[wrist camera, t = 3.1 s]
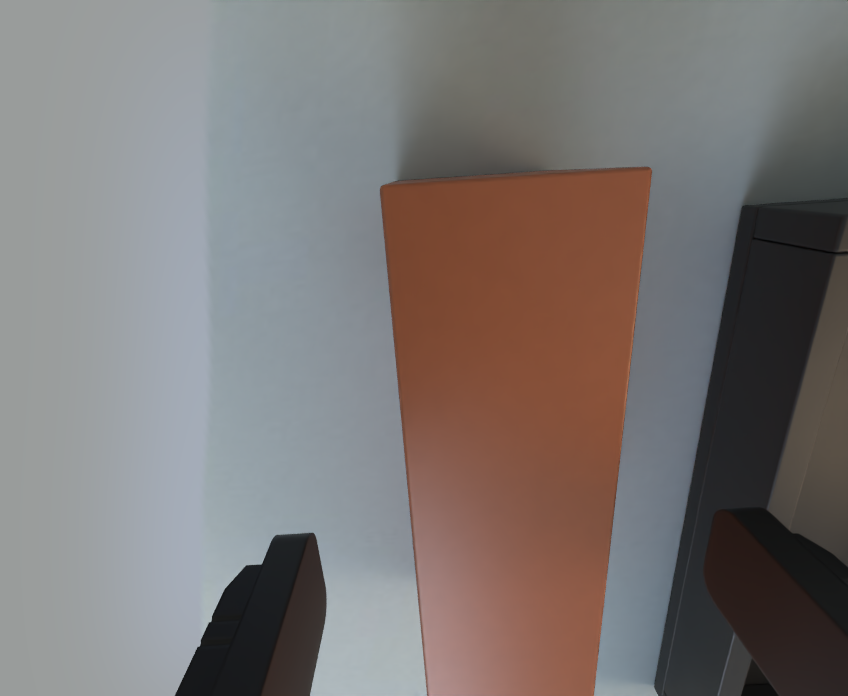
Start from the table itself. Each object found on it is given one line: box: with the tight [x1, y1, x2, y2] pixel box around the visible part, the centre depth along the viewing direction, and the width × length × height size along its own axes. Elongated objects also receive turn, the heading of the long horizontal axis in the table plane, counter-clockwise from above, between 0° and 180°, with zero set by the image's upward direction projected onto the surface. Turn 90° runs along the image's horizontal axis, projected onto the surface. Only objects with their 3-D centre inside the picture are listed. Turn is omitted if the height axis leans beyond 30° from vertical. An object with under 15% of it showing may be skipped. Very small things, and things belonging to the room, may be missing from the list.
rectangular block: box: [380, 167, 652, 696], centre depth 12 cm, size 14×4×6 cm, turn 4°
